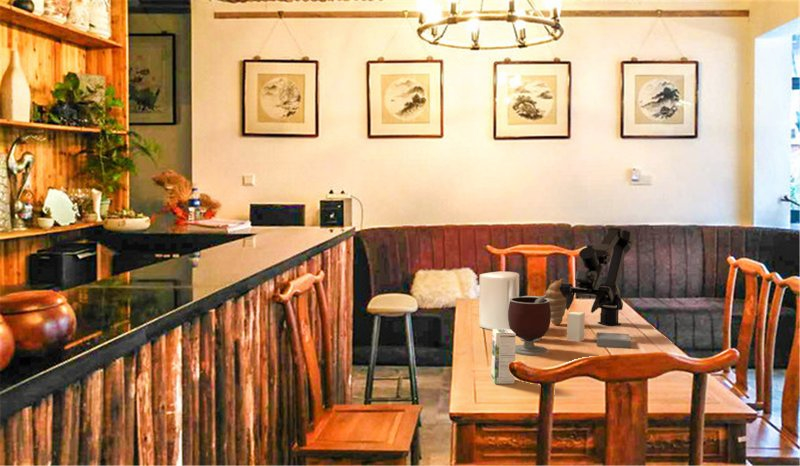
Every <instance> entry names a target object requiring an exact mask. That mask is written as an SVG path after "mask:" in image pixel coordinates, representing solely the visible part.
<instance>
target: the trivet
mask: <svg viewBox="0 0 800 466" xmlns="http://www.w3.org/2000/svg"><path fill="white" fill-rule="evenodd" d="M595 339H596V347H602V348H603V347H604V348H619V349H621V348H622V349H632V347H631V346H632V344H631V343H632V340H631V336H630V333H617V332H616V333H615V332H613V333H612V332H599V331H598V332H596V338H595Z"/></svg>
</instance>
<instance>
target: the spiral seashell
mask: <svg viewBox="0 0 800 466" xmlns="http://www.w3.org/2000/svg"><path fill="white" fill-rule="evenodd" d="M561 283H564V278H560V279H559V280H554V279H551V280H550V284H549V286H548V287H547V290H546V291H545V293H544V295H548V297H546V299H548V300H549V303H550V310H551V321H550V323H551V324H552V325H556V326H559V325H561V324H562V322H563V318H564V316H565V313H566V311H567V309H566V298H565V297H564V296H563V295H562V293H561V291H560V288H559V287H560V284H561Z"/></svg>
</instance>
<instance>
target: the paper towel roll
mask: <svg viewBox="0 0 800 466" xmlns="http://www.w3.org/2000/svg"><path fill="white" fill-rule="evenodd" d="M478 285H479V286H478V287H479V289H478V291H479V296H478V297H479V298H478V299H479V301H478V302H479V303H478V308H479V309H478V310H479V311H478V314H479V315H478V325H479V328H482V329H484V330H490V331H493V329H510V327H509V321H508V309H509V303H510V299H511V298H514V297H520V273H518V272H515V271H491V272H485V273H480V274H479V283H478Z"/></svg>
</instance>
